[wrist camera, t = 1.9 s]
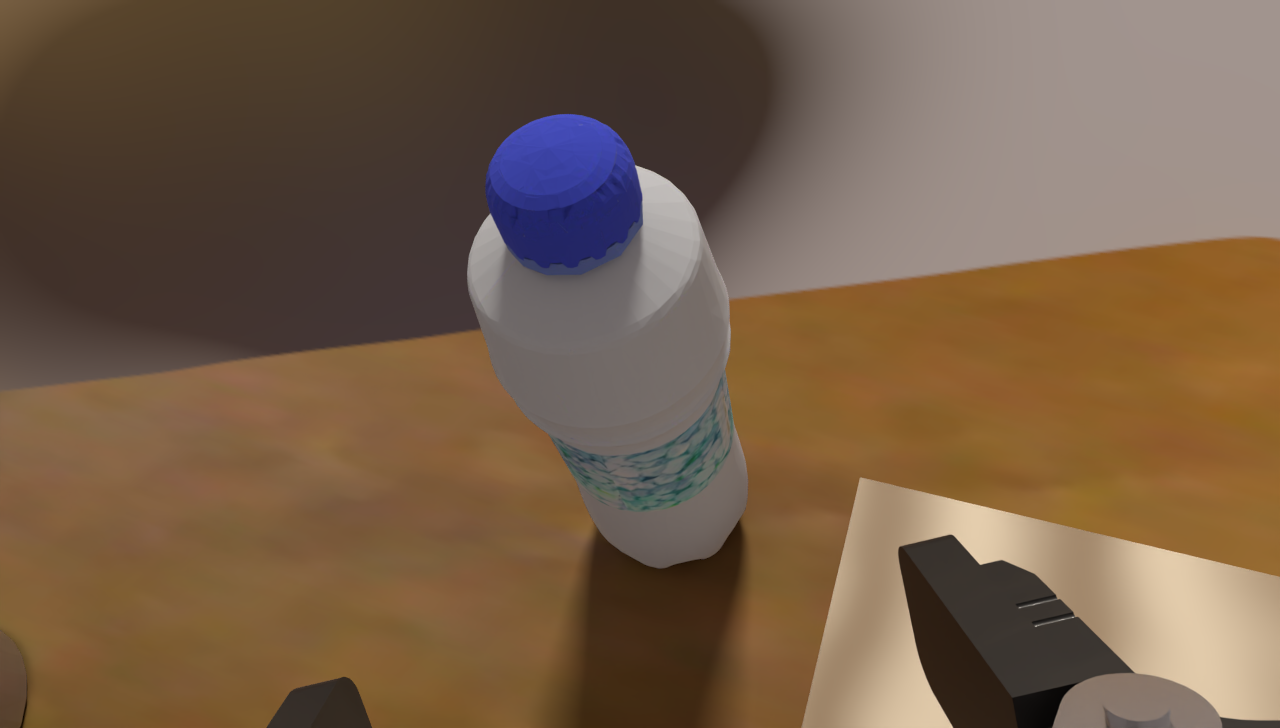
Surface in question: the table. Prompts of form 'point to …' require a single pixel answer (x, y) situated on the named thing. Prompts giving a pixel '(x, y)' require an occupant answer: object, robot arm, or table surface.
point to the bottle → (612, 335)
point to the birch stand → (1079, 575)
